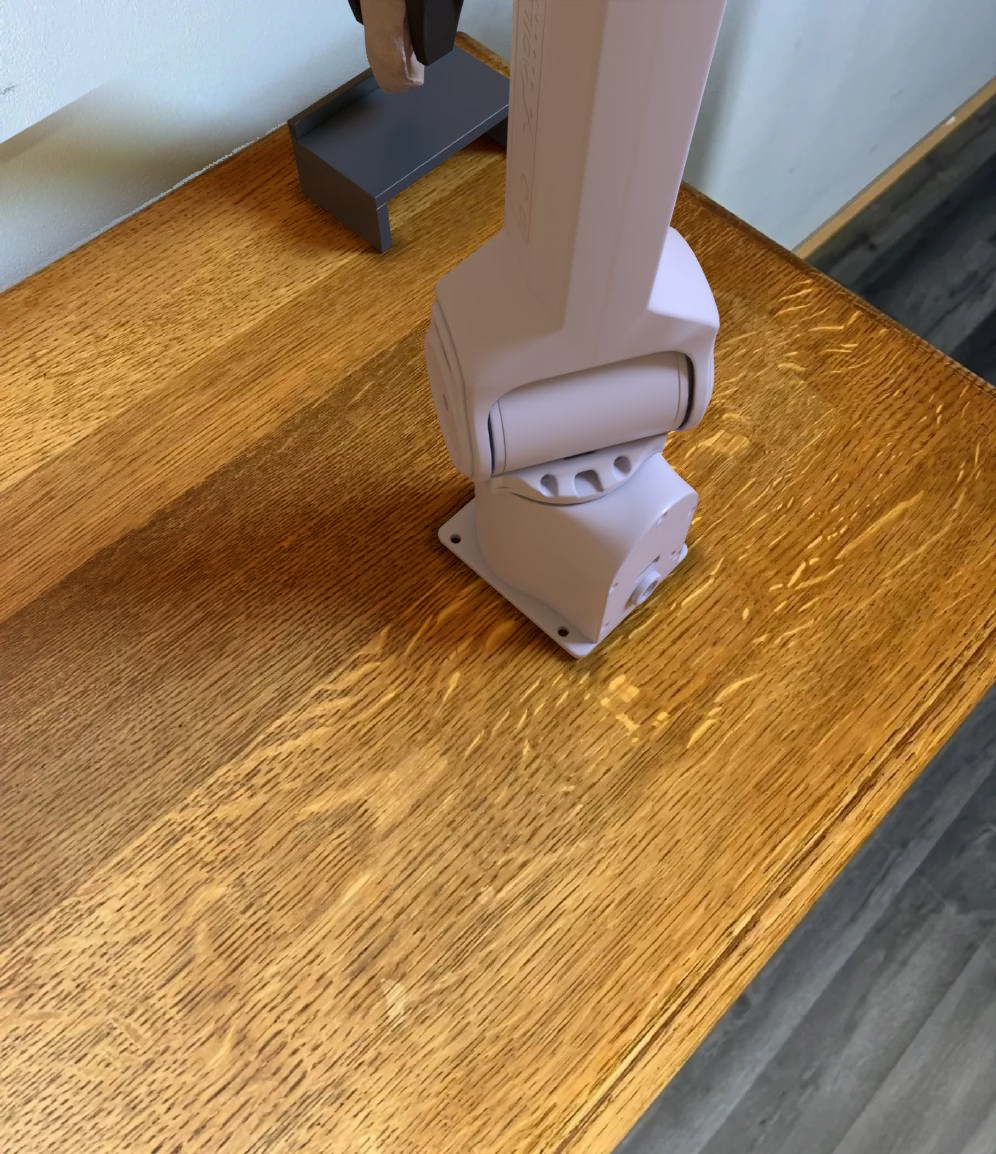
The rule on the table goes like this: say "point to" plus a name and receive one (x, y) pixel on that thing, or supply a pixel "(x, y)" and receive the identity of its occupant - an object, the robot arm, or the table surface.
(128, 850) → the table surface
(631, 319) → the robot arm
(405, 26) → the fossil
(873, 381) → the table surface
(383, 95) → the shelf
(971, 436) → the table surface
